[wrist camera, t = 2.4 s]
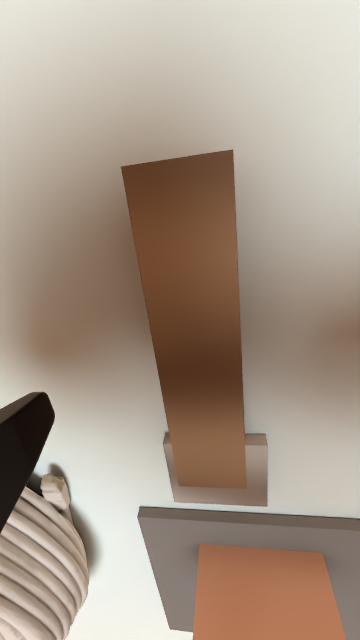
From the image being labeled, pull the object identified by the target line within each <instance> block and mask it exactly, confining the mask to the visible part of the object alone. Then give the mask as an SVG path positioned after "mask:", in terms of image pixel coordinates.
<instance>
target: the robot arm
mask: <svg viewBox="0 0 360 640" xmlns="http://www.w3.org/2000/svg"><path fill="white" fill-rule="evenodd" d="M54 419H55V413H54V410H53V407H52V405H51V402H50V399H49V397H48V395H47V394H46V393H45V392H32V393H29V394H27V395H26V396H24V397H22V398H20V399H18V400H16V401H14V402H13V403H11V404H9V405H7V406H5V407H3V408H1V409H0V534H1V532H2V530H3V528H4V526H5V524H6V522H7V520H8V518H9V517H10V515H11V513H12V511H13V509H14V507H15V505H16V503H17V501H18V499H19V498H20V496H21V494H22V492H23V490H24V488H25V486H26V484H27V482H28V480H29V478H30V476H31V474H32V472H33V470H34V468H35V466H36V464H37V461H38V459H39V457H40V454H41V452H42V449H43V447H44V445H45V442H46V440H47V437H48V435H49V432H50V430H51V428H52V425H53V423H54Z"/></svg>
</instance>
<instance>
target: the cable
mask: <svg viewBox="0 0 360 640" xmlns="http://www.w3.org/2000/svg"><path fill="white" fill-rule="evenodd" d="M64 481H65V478H63V477H58V476H53V475H52V474H45V475H43V478H42V481H41V486H40V488H41V489H42V494H43V496H44V498H43V497H41V496H39V495H38V494H36V493H35V492H33V491H32V490H30V489H29V488H27V487H26V486H25V488H24V490H23V492H22V494H21V496H20V498H19V499H18V501H17V503H16V505H15V507H14V509H13V511H12V513H11V515H10V517H9V518H8V520H7V522H6V524H5V526H4V528H3V530H2V532H1V534H0V640H65V638H66V637H67V635H68V633H69V630H70V626H71V625H72V624H73V621H74V619H75V616H76V615H77V613H78V611H79V609H80V608H81V607H82V605H83V604H84V602H85V600H86V597H87V594H88V584H89V574H88V569H87V559H86V552H85V549H84V545H83V542H82V540H81V538H80V536H79V534H78V533H77V531H76V529H75V528H74V526H73V520H72V515H71V511H70V508H69V504H70V497H69V493H68V488H67V485H66V483H65V482H64Z"/></svg>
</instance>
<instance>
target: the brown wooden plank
mask: <svg viewBox="0 0 360 640" xmlns="http://www.w3.org/2000/svg"><path fill="white" fill-rule="evenodd" d="M121 169H122V175H123V180H124V186H125V191H126V197H127V202H128V208H129V214H130V219H131V225H132V230H133V236H134V241H135V247H136V252H137V258H138V263H139V269H140V274H141V280H142V285H143V291H144V296H145V302H146V307H147V313H148V318H149V324H150V330H151V335H152V341H153V346H154V352H155V357H156V363H157V368H158V374H159V379H160V385H161V390H162V396H163V401H164V407H165V412H166V418H167V423H168V429H169V433H165V437H164V442H163V447H164V452H165V457H166V462H167V467H168V472H169V477H170V482H171V487H172V492H173V497H174V502H184V503H204V504H224V505H243V506H263V507H267V440H266V435H265V434H245V429H244V405H243V381H242V356H241V332H240V308H239V284H238V259H237V235H236V211H235V186H234V162H233V150H227V151H220V152H214V153H207V154H201V155H194V156H188V157H181V158H174V159H168V160H161V161H155V162H148V163H142V164H135V165H129V166H122V167H121Z"/></svg>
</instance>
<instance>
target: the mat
mask: <svg viewBox="0 0 360 640" xmlns="http://www.w3.org/2000/svg"><path fill="white" fill-rule="evenodd" d="M137 518H138V521H139V524H140V528H141V531H142V535H143V538H144V542H145V545H146V549H147V552H148V555H149V559H150V562H151V566H152V569H153V573H154V576H155V580H156V583H157V587H158V590H159V593H160V597H161V600H162V604H163V607H164V611H165V614H166V618H167V621H168V625H169V628H170V629H172V630H180V631H187V632H193V630H194V615H195V600H196V586H197V571H198V556H199V544H212V545H226V546H239V547H252V548H265V549H278V550H291V551H304V552H317V553H323V556H324V559H325V563H326V567H327V570H328V574H329V578H330V582H331V585H332V589H333V593H334V596H335V600H336V604H337V607H338V611H339V615H340V618H341V622H342V626H343V630H344V633H345V637H346V640H360V519H344V518H326V517H308V516H291V515H273V514H255V513H238V512H220V511H202V510H185V509H167V508H149V507H140V509H139V513H138V516H137Z"/></svg>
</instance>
